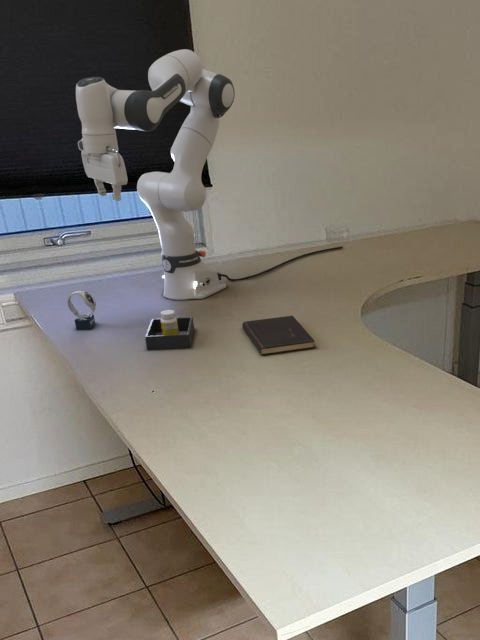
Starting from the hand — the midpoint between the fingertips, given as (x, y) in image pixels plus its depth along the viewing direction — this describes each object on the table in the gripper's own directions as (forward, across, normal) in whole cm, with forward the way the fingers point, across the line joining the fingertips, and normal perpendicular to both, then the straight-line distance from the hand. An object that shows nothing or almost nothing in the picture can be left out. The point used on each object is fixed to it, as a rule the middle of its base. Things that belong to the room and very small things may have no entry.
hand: (109, 198), depth 211 cm
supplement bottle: (+38, -19, -4) cm, 42 cm away
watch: (+38, +9, +11) cm, 40 cm away
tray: (+38, -19, -4) cm, 42 cm away
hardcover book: (+38, -39, -28) cm, 61 cm away
